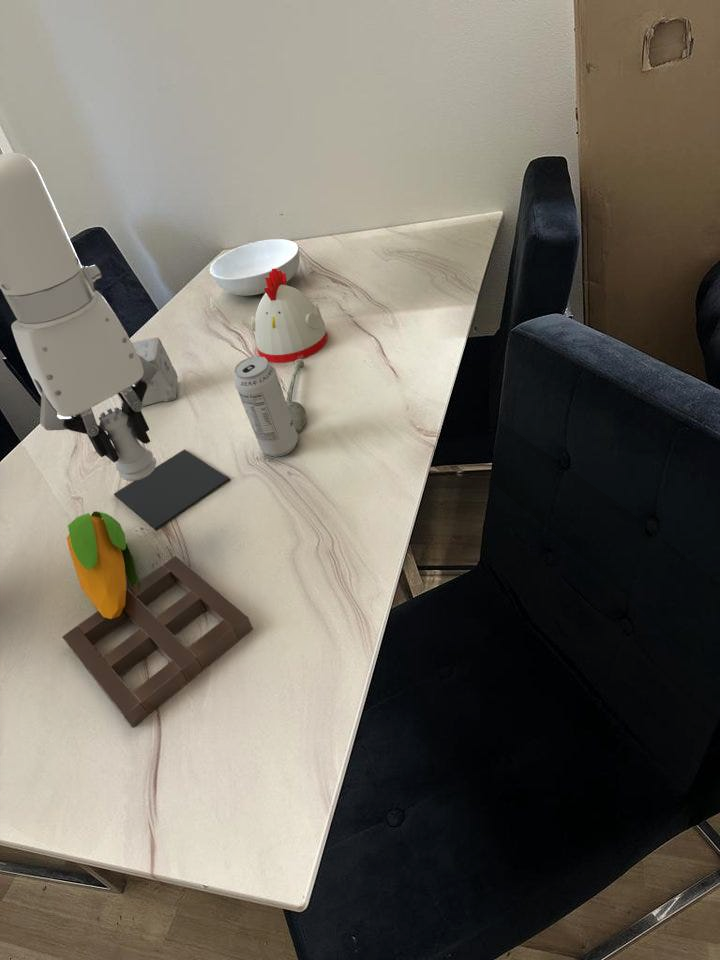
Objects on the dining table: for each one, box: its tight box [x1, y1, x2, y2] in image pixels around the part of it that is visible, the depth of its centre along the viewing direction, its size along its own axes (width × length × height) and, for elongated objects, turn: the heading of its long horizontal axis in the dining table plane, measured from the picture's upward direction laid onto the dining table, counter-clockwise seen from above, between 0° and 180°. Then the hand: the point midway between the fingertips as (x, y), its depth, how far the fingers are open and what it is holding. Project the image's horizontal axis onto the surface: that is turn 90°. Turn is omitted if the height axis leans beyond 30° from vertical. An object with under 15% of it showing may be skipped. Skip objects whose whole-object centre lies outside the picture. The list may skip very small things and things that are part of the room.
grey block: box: [118, 336, 179, 407], centre depth 119 cm, size 10×8×10 cm
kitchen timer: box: [250, 268, 329, 364], centre depth 124 cm, size 14×14×15 cm
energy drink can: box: [233, 355, 299, 458], centre depth 98 cm, size 6×6×15 cm
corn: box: [66, 511, 139, 619], centre depth 84 cm, size 7×8×20 cm
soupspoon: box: [285, 359, 307, 434], centre depth 112 cm, size 22×3×7 cm
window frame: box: [62, 555, 254, 728], centre depth 77 cm, size 16×16×2 cm
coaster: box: [113, 449, 231, 531], centre depth 100 cm, size 13×13×1 cm
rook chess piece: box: [98, 406, 157, 482], centre depth 75 cm, size 4×4×8 cm
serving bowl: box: [209, 238, 301, 297], centre depth 153 cm, size 21×21×7 cm
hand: (126, 446), depth 75 cm, fingers closed on rook chess piece, 3 cm apart
